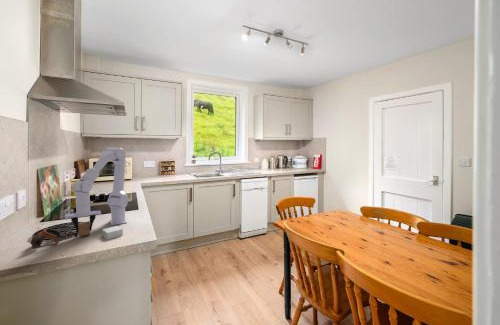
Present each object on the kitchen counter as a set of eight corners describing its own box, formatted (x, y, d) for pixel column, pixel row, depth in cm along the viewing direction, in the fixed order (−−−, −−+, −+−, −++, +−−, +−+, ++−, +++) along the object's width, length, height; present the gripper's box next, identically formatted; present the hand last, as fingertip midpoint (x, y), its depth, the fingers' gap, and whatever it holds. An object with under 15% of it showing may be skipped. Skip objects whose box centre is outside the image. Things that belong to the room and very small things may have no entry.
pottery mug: (39, 242, 111) (50, 226, 113) (57, 251, 112) (68, 235, 113) (18, 247, 100) (30, 229, 101) (38, 257, 100) (50, 238, 101)
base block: (102, 235, 120) (102, 229, 119) (117, 232, 125) (117, 225, 125) (107, 239, 115) (107, 232, 115) (122, 235, 120) (122, 229, 120)
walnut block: (79, 233, 119) (78, 222, 119) (90, 231, 122) (89, 221, 121) (78, 236, 115) (78, 225, 115) (89, 234, 118) (89, 223, 117)
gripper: (63, 208, 110) (65, 236, 111) (100, 204, 118) (101, 230, 119) (65, 205, 116) (66, 231, 117) (100, 201, 124) (101, 226, 125)
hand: (84, 230), depth 118 cm, fingers closed on walnut block, 4 cm apart
